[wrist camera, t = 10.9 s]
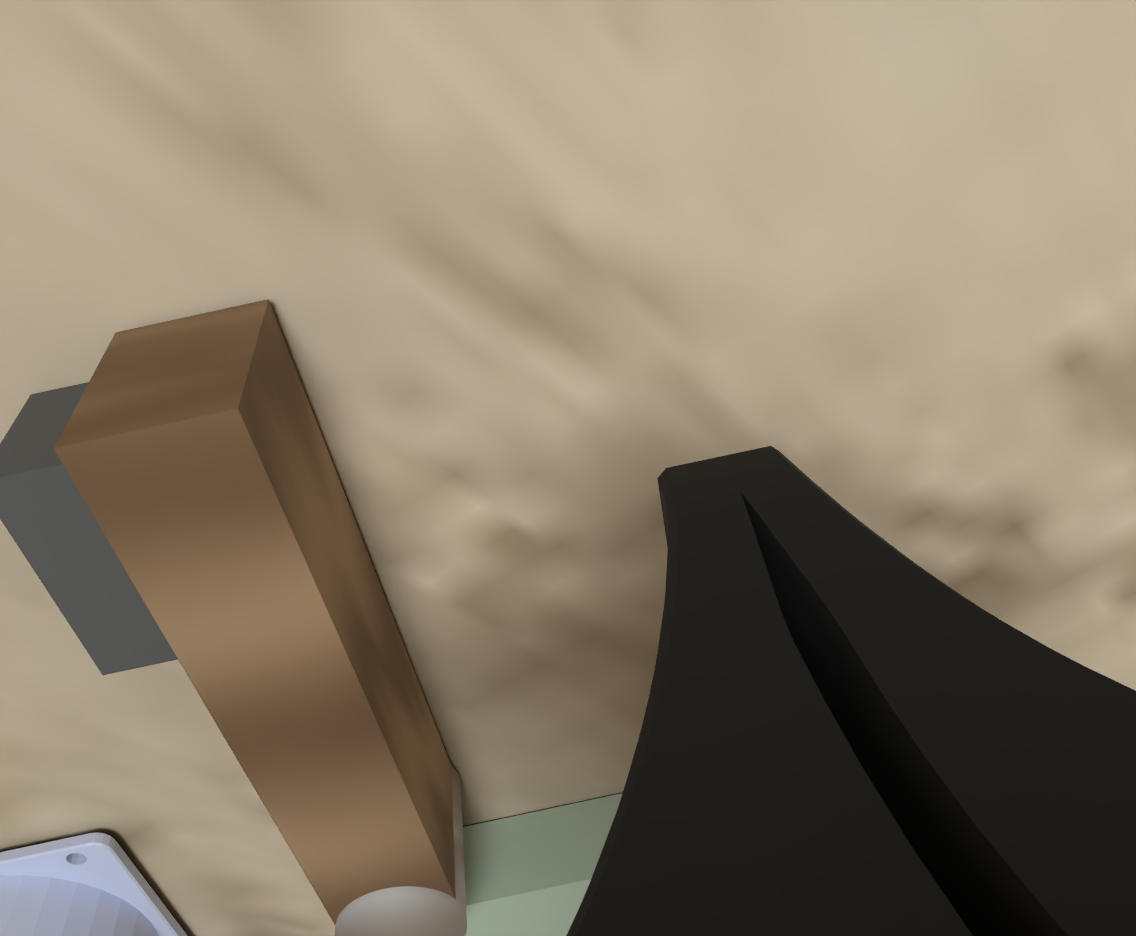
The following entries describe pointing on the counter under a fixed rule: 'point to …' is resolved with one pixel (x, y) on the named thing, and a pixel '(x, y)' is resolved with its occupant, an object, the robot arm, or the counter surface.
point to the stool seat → (533, 868)
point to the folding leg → (274, 608)
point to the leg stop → (72, 541)
